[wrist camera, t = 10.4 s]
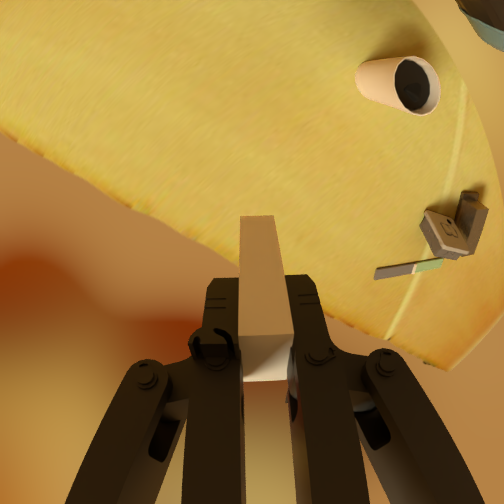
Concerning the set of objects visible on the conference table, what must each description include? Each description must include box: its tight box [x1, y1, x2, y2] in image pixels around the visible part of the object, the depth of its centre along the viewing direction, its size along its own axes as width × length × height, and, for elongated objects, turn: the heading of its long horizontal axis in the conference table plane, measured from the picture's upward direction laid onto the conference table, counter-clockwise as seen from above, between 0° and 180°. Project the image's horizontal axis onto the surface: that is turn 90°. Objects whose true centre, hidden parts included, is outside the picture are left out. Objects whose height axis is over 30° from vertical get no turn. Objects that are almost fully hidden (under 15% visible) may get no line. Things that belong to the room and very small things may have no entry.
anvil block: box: [454, 192, 489, 257], centre depth 39 cm, size 12×5×5 cm, turn 5°
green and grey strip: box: [374, 258, 444, 280], centre depth 46 cm, size 2×17×1 cm, turn 95°
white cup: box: [355, 56, 441, 116], centre depth 24 cm, size 7×7×10 cm
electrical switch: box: [420, 210, 469, 260], centre depth 38 cm, size 8×5×8 cm, turn 79°
